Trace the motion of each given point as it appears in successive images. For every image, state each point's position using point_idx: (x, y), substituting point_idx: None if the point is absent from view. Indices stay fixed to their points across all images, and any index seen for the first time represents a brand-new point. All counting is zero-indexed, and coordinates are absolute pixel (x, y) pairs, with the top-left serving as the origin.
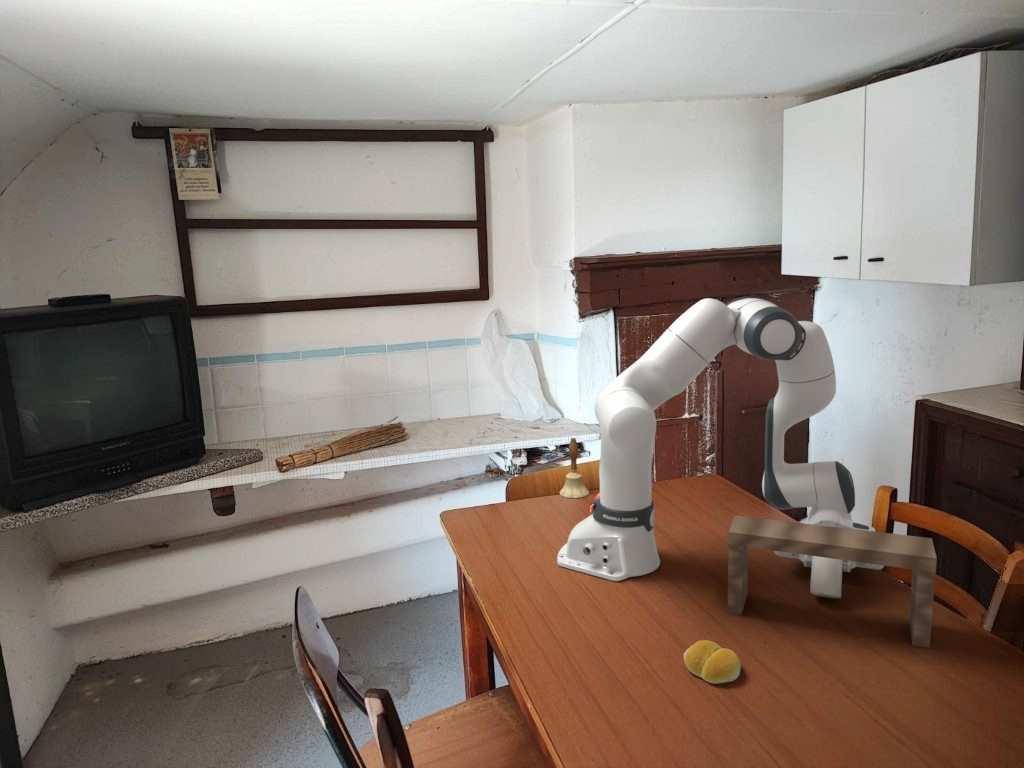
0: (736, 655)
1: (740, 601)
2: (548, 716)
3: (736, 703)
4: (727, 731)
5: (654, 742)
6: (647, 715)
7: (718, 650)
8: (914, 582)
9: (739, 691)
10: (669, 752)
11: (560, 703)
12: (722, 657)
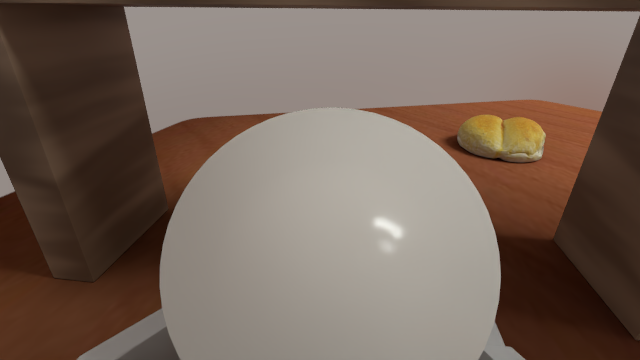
0: (473, 131)
1: (570, 203)
2: (589, 110)
3: (441, 126)
4: (435, 114)
5: (486, 107)
6: (512, 116)
7: (498, 122)
8: (95, 95)
9: (446, 134)
10: (469, 104)
11: (598, 116)
12: (484, 115)
